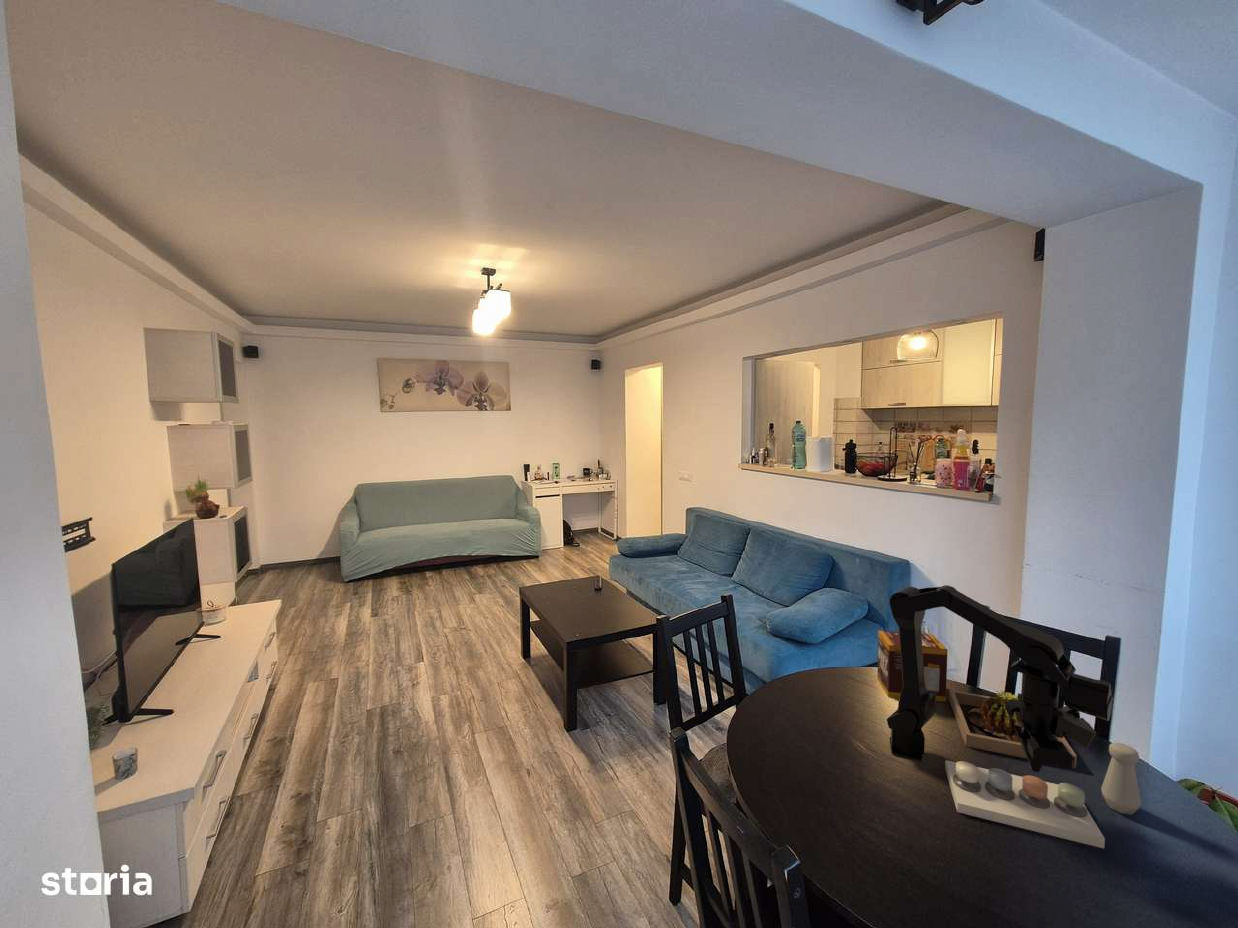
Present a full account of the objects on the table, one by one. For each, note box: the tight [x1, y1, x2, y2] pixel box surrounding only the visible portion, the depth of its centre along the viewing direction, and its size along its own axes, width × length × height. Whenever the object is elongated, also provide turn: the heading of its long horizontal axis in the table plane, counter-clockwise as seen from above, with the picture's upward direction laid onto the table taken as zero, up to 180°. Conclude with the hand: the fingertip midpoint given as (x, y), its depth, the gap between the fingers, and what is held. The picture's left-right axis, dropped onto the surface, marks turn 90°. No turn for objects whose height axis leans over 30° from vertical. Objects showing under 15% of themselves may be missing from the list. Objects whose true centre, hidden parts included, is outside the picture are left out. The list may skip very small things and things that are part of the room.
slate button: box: [988, 767, 1013, 791], centre depth 106 cm, size 4×4×2 cm
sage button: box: [1058, 782, 1086, 807], centre depth 101 cm, size 4×4×2 cm
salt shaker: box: [1100, 742, 1142, 816], centre depth 103 cm, size 6×6×13 cm
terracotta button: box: [1022, 774, 1048, 799], centre depth 104 cm, size 4×4×2 cm
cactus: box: [966, 690, 1021, 743], centre depth 130 cm, size 17×16×10 cm
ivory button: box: [956, 760, 979, 783], centre depth 108 cm, size 4×4×2 cm
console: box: [944, 759, 1106, 849], centre depth 105 cm, size 23×14×2 cm, turn 66°
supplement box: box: [876, 630, 949, 702], centre depth 149 cm, size 10×15×16 cm
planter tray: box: [948, 689, 1078, 769], centre depth 129 cm, size 21×22×3 cm
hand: (1035, 770), depth 103 cm, fingers closed
